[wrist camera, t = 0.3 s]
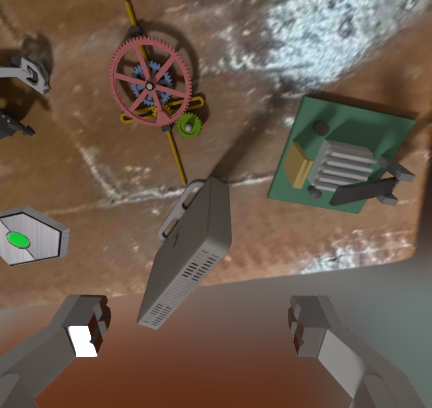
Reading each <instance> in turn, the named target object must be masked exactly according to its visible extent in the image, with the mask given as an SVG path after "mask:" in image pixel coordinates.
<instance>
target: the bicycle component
mask: <svg viewBox="0 0 432 408" xmlns="http://www.w3.org/2000/svg"><path fill="white" fill-rule="evenodd" d="M10 58H11V60H12V63H10V64H9V65H10V66H0V77H18V78H19V79H21V80H22V81H24V82H25V83H27V84H28V85H30V86H31V87H33V88H34V89H36V90H37V91H38V92H40V93H41V94H43V95H44V94H45V93H48V92H49V90H50V87H49V86H48V84H47V82H48V77H49V75H48V73H47V71H46V69H45V68H44V66H43V64H42V62H38V61H34V60H32V59H29V58H27V57H24V56H23V57H20V56H18V55H16V56H13V57H10ZM39 66H40V68H41V69H40V68H39ZM42 73H43V75H44V76H43V75H42ZM34 83H37V85H35V84H34ZM43 88H44V90H45V91H44V90H43ZM21 129H22V131H23V134H24V135H30V136H34V135H35V134H36V133H35V131H34V130H33V129H32V128H31V127H30V126H29V125H28V126H27V127H25V126H24V125H23V124H22V123H20V122H18V121H16V120H15V119H14V118H13V117H12V116H11V115H10V114H9V113H8V112H5V111H3V110H2V109H0V139H2V138H4V137H7V136H9V135H10V136H12V135H13V134H14V133H15V132H16V131H17V130H19V131H20V130H21Z"/></svg>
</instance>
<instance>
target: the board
mask: <svg viewBox="0 0 432 408" xmlns="http://www.w3.org/2000/svg"><path fill="white" fill-rule="evenodd" d="M415 123H416V121H415V120H413V119H410V118H405V117H401V116H396V115H391V114H387V113H382V112H378V111H373V110H368V109H364V108H359V107H355V106H350V105H346V104H341V103H336V102H332V101H327V100H323V99H318V98H314V97H309V96H304V95H303V98H302V101H301V103H300V106H299V109H298V112H297V114H296V117H295V120H294V123H293V125H292V128H291V131H290V134H289V137H288V139H287V142H286V145H285V148H284V150H283V153H282V156H281V159H280V161H279V164H278V167H277V170H276V172H275V175H274V178H273V181H272V183H271V186H270V189H269V192H268V194H267V196H268V198H270V199H275V200H281V201H287V202H293V203H298V204H304V205H310V206H315V207H321V208H327V209H333V210H338V211H344V212H350V213H355V214H359V212H360V211H361V209H362V207H363V206H364V204H365V203H366V201H367V199H365V200H360V201H356V202H351V203H347V204H342V205H338V206H332V205H330V204H329V202H330V200H331V198H332V196H333V194H334V193H335V191H336V189H337V187H338V186H341V185H348V184H354V183H360V182H366V181H372V180H378V179H381V177H382V176H383V174H384V172H385V171H386V170H387V171H388V172H389V173H391V174H392V175H393V176H394V177H395V178H397V179H398V180H402V181H408V182H412V180H413V179H414V177H415V175H414V174H413V173H411V172H410V171H408V170H407V169H406V168H404V167H403V166H402V165H400V164H399V163H398V162H396V161H395V160H393V158H394V156H395V155H396V153H397V152H398V150H399V148H400V147H401V145H402V144H403V142H404V140H405V139H406V137H407V136H408V134H409V132H410V131H411V129H412V128H413V126H414V125H415ZM376 198H377V199H378V200H379V201H380V202H381V203H382V204H388V205H393V206H395V204H396V203H397V201H398V199H397V198H396V197H395V196H394V195H393V194H391V195H389V194H387V195H383V196H378V197H376Z"/></svg>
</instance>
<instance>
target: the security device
mask: <svg viewBox="0 0 432 408" xmlns="http://www.w3.org/2000/svg"><path fill="white" fill-rule="evenodd" d="M69 231H70V228H68V227H67V226H65V225H63V224H61V223H59V222H57V221H55V220H53V219H51V218H49V217H48V216H46V215H44V214H42V213H40V212H38V211H36V210H34V209H32V208H30V207H28V206H22V207H18V208H14V209H9V210H5V211H0V256H1V257H2V258H3V259H4V260H5V261H6V262H7V263H8V264H9V265H10V266H16V265H21V264H27V263H32V262H38V261H43V260H48V259H54V258H59V257H64V256H67V250H68V241H69Z"/></svg>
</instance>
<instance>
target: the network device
mask: <svg viewBox="0 0 432 408" xmlns="http://www.w3.org/2000/svg"><path fill="white" fill-rule="evenodd" d="M194 187H200V188H202V189H201V190H200V192H199V193H198V195H197V196H196V197H195V199H194V200H193V202H192V203H191V205H190V206H189V207H188V209H185V208H184V207H183V206H182V203H183V202H184V200H185V199H186V197H187V196H188V194H189V193H190V191H191V190H192V188H194ZM174 218H176V219H178V220H179V222H178V223H177V225H176V226H175V227H174V229H173V230H172V232H171V233H170V235H169V236H168V237H165V236H164V235H163V231H164V230H165V228H166V227H167V225H168V224H169V222H170V221H171V220H172V219H174ZM158 235H159V238H160V239H161V240H162V241H163V242H164V243H163V245H162V246H161V248H160V249H159V250H158V252H157V254H156V256H155V259H154V263H153V266H152V270H151V273H150V276H149V280H148V283H147V287H146V290H145V294H144V298H143V301H142V304H141V308H140V311H139V315H138V318H137V323H138V324H141V325H144V326H147V327H150V328H153V329H156V330H157V329H158V328H159V327H160V326H161V325H162V324H163V322H164V321H165V320H166V319H167V318H168V317H169V316H170V315H171V314H172V313H173V312H174V310H175V309H176V308H177V307H178V306H179V305H180V304H181V303H182V302H183V301H184V299H185V298H186V297H187V296H188V295H189V294H190V293H191V292H192V291H193V290H194V289H195V287H196V286H197V285H198V284H199V283H200V282H201V281H202V280H203V279H204V278H205V277H206V275H207V274H208V273H209V272H210V271H211V270H212V269H213V268H214V267H215V266H216V264H217V263H218V262H219V261H220V260H221V259H222V258H223V257H224V256H225V255H226V253H227V252H228V250H229V248H230V246H231V242H232V234H231V216H230V199H229V186H228V185H227V184H225V183H223V182H221V181H220V180H218V179H216V178H214V177H213V176H211V177H210V178H209V179H208V180H207V182H206V183H205V182H202V181H195V182H192V183H191V184H189V185H188V186H187V188H186V189H185V191H184V192H183V194H182V195H181V197H180V199H179V200H178V202H177V203H176V205H175V206H174V208H173V209H172V211H171V212H170V214H169V215H168V217H167V218H166V220H165V221H164V223H163V224H162V226H161V227H160V229H159V233H158Z"/></svg>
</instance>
